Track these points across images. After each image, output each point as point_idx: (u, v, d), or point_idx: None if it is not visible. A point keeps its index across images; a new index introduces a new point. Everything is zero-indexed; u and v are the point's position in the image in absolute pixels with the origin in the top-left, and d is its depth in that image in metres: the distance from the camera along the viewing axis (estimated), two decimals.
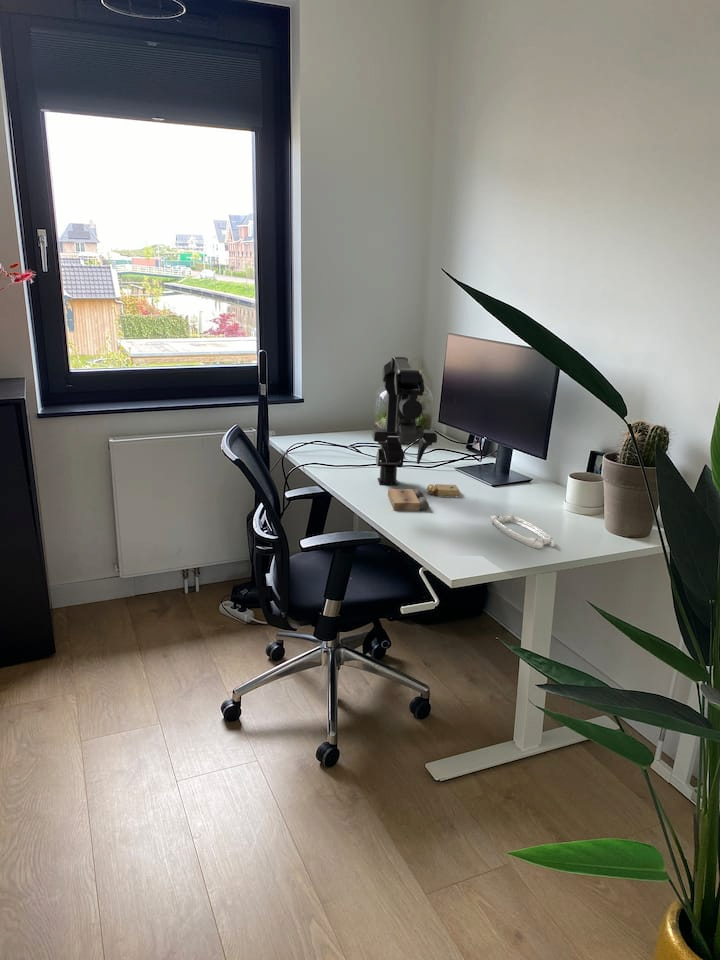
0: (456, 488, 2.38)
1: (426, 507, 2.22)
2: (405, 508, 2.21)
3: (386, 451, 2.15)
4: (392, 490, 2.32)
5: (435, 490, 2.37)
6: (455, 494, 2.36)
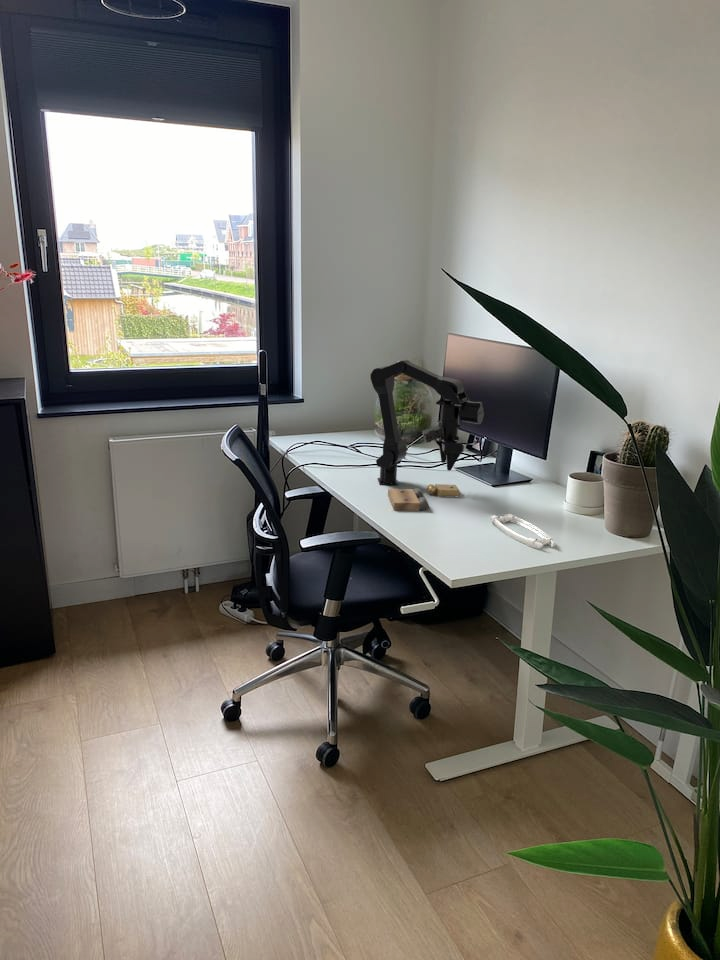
0: (456, 488, 2.38)
1: (426, 507, 2.22)
2: (405, 508, 2.21)
3: None
4: (392, 490, 2.32)
5: (435, 490, 2.37)
6: (455, 494, 2.36)
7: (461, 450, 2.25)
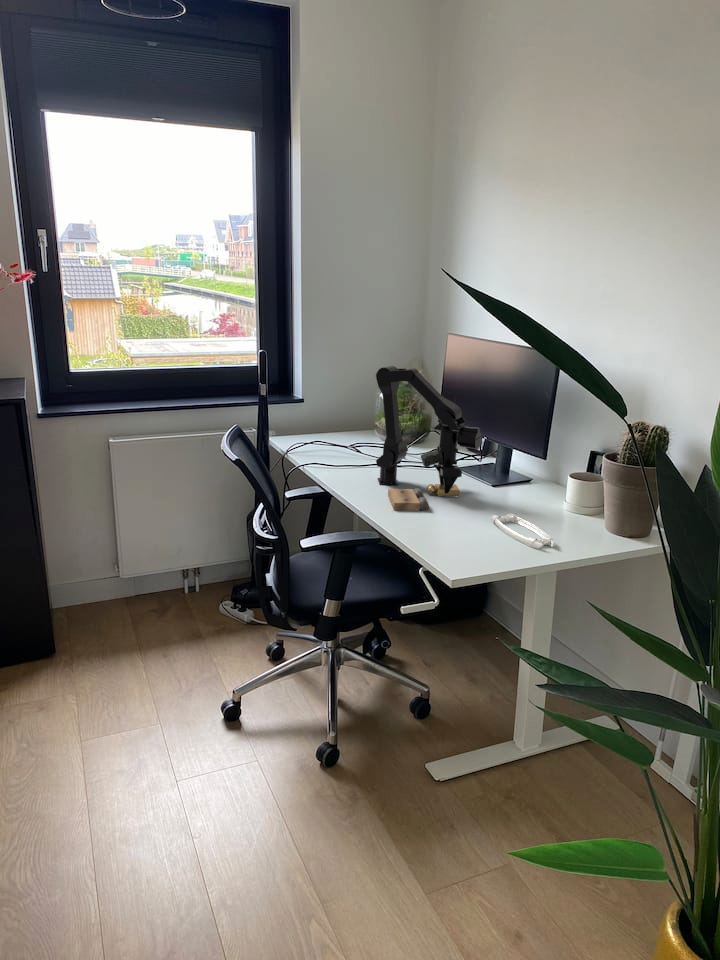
0: (456, 488, 2.38)
1: (426, 507, 2.22)
2: (405, 508, 2.21)
3: (439, 475, 2.41)
4: (392, 490, 2.32)
5: (435, 490, 2.37)
6: (455, 494, 2.36)
7: (459, 475, 2.28)
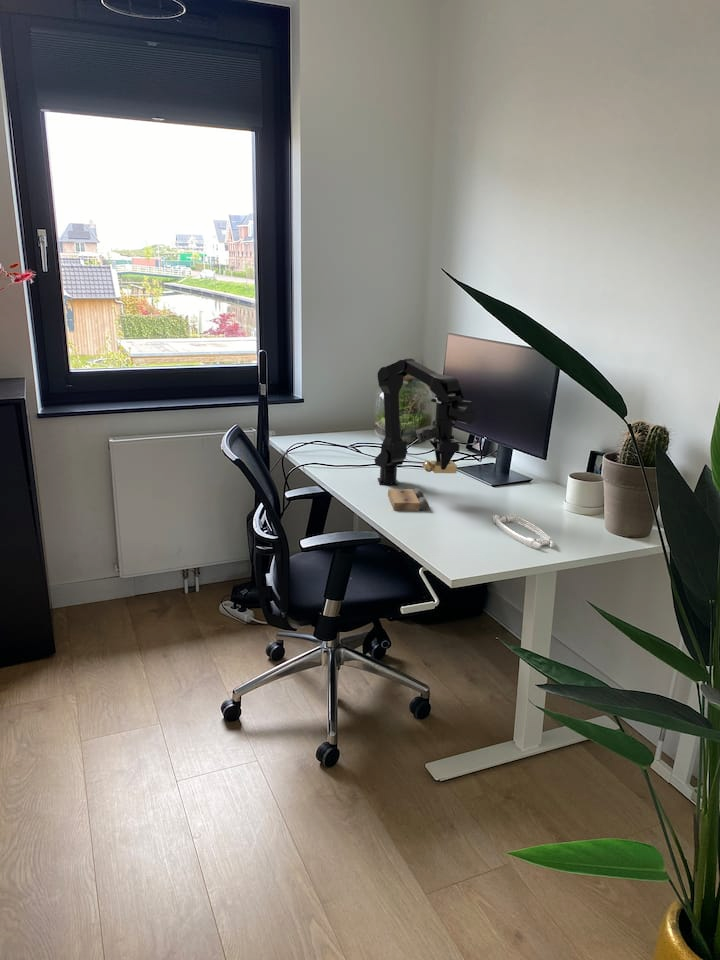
0: (453, 464, 2.27)
1: (426, 507, 2.22)
2: (405, 508, 2.21)
3: (435, 451, 2.31)
4: (392, 490, 2.32)
5: (431, 466, 2.26)
6: (452, 470, 2.26)
7: (457, 449, 2.17)
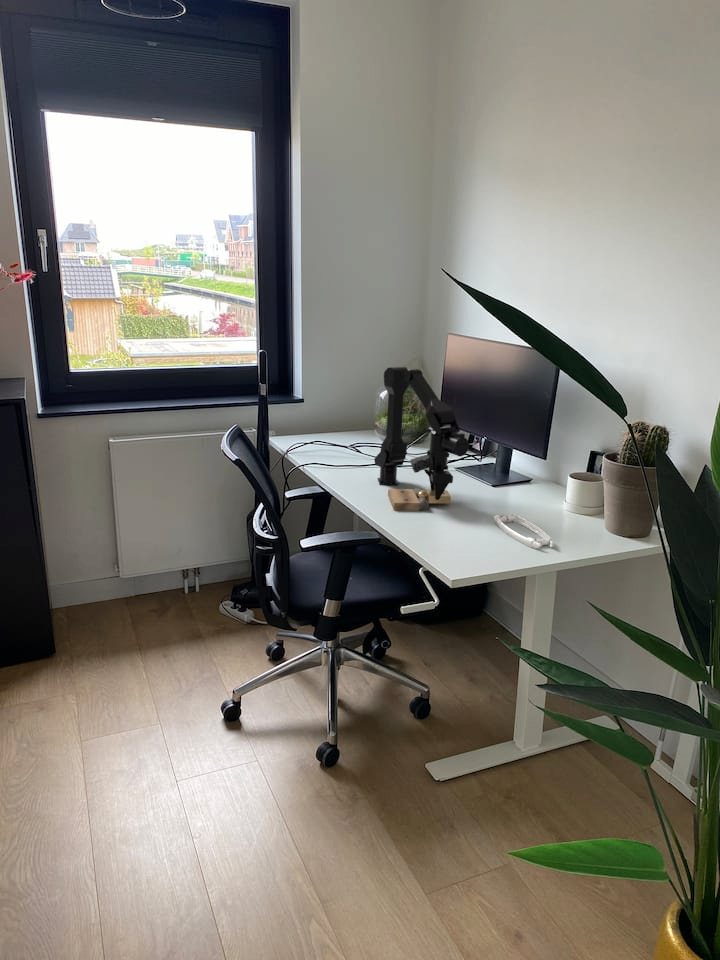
0: (447, 494, 2.27)
1: (426, 507, 2.22)
2: (405, 508, 2.21)
3: None
4: (392, 490, 2.32)
5: (425, 496, 2.26)
6: (446, 500, 2.26)
7: (450, 481, 2.17)
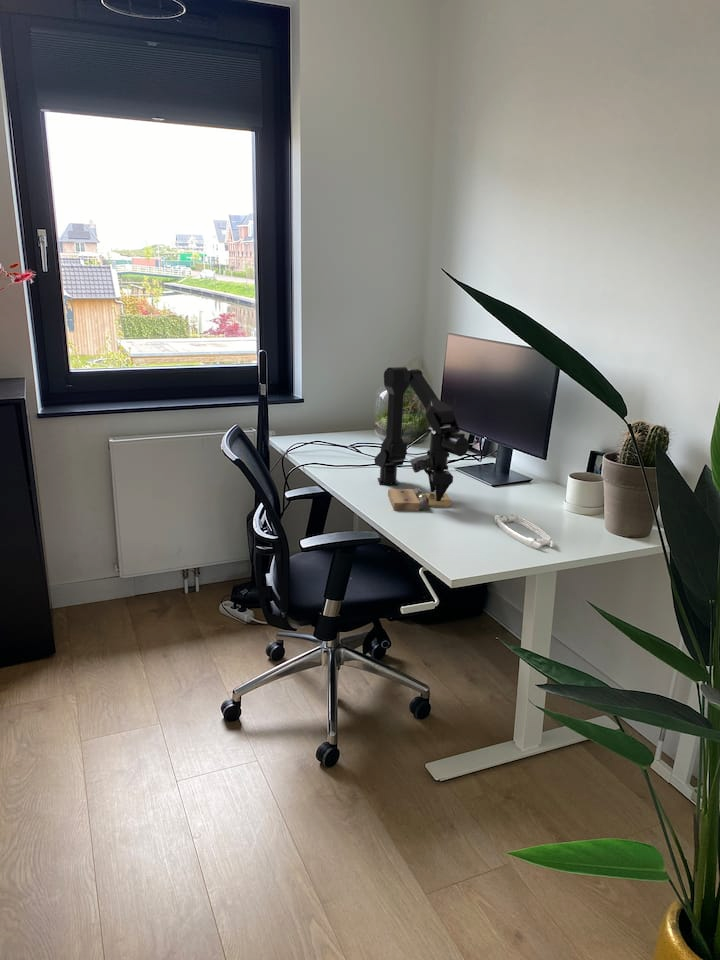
0: (447, 497, 2.28)
1: (426, 507, 2.22)
2: (405, 508, 2.21)
3: (429, 479, 2.32)
4: (392, 490, 2.32)
5: None
6: (446, 504, 2.26)
7: (450, 481, 2.17)
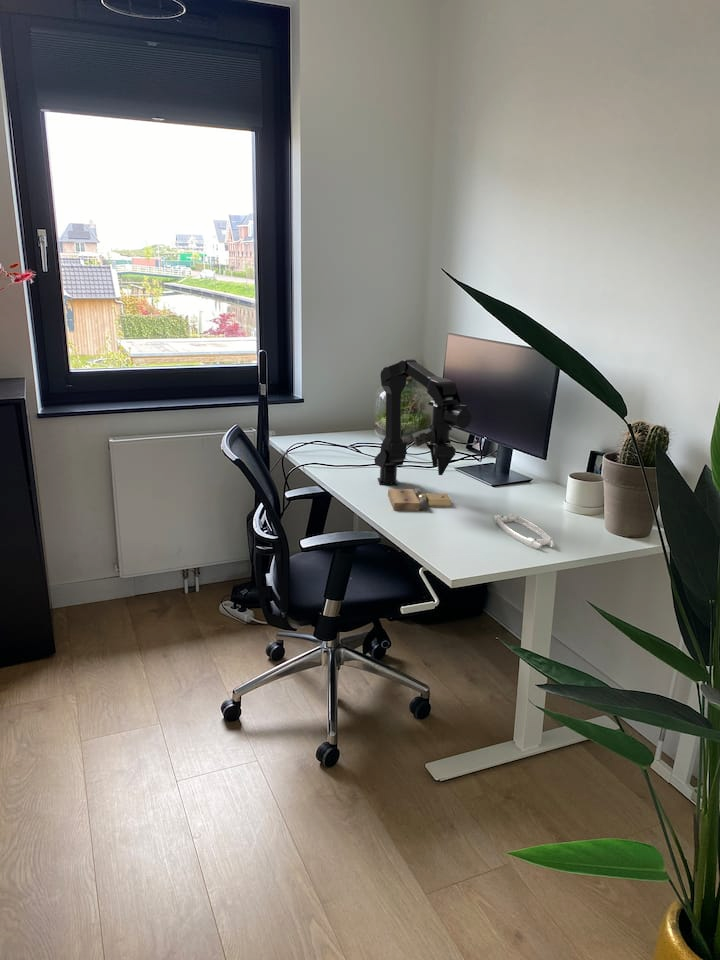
0: (447, 497, 2.28)
1: (426, 507, 2.22)
2: (405, 508, 2.21)
3: (431, 454, 2.30)
4: (392, 490, 2.32)
5: None
6: (446, 504, 2.26)
7: (453, 454, 2.15)
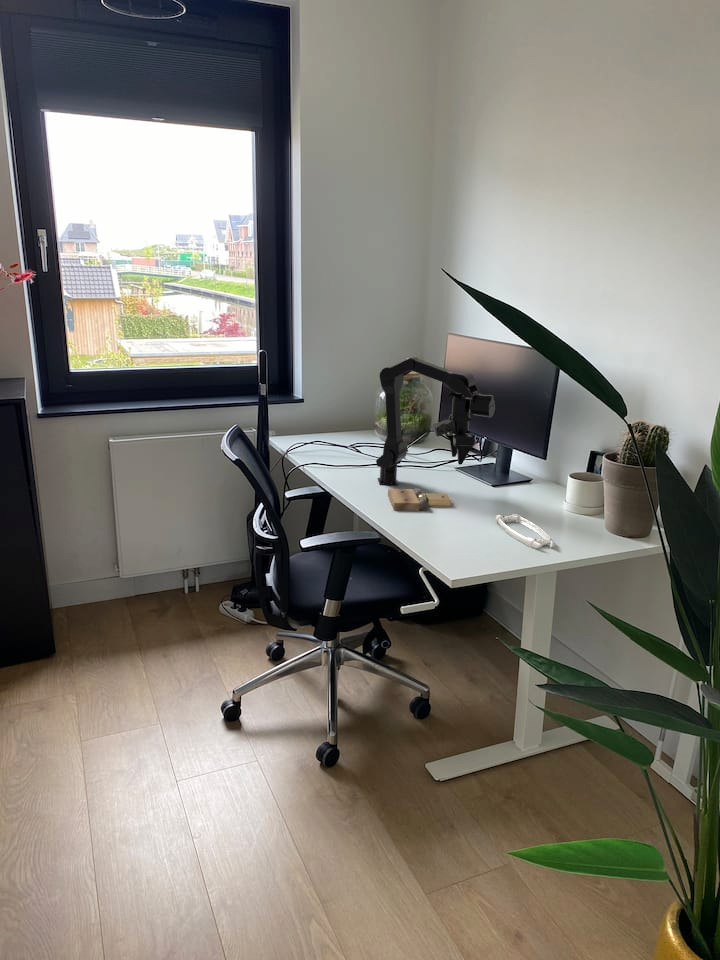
0: (447, 497, 2.28)
1: (426, 507, 2.22)
2: (405, 508, 2.21)
3: (450, 444, 2.38)
4: (392, 490, 2.32)
5: None
6: (446, 504, 2.26)
7: (472, 444, 2.23)
